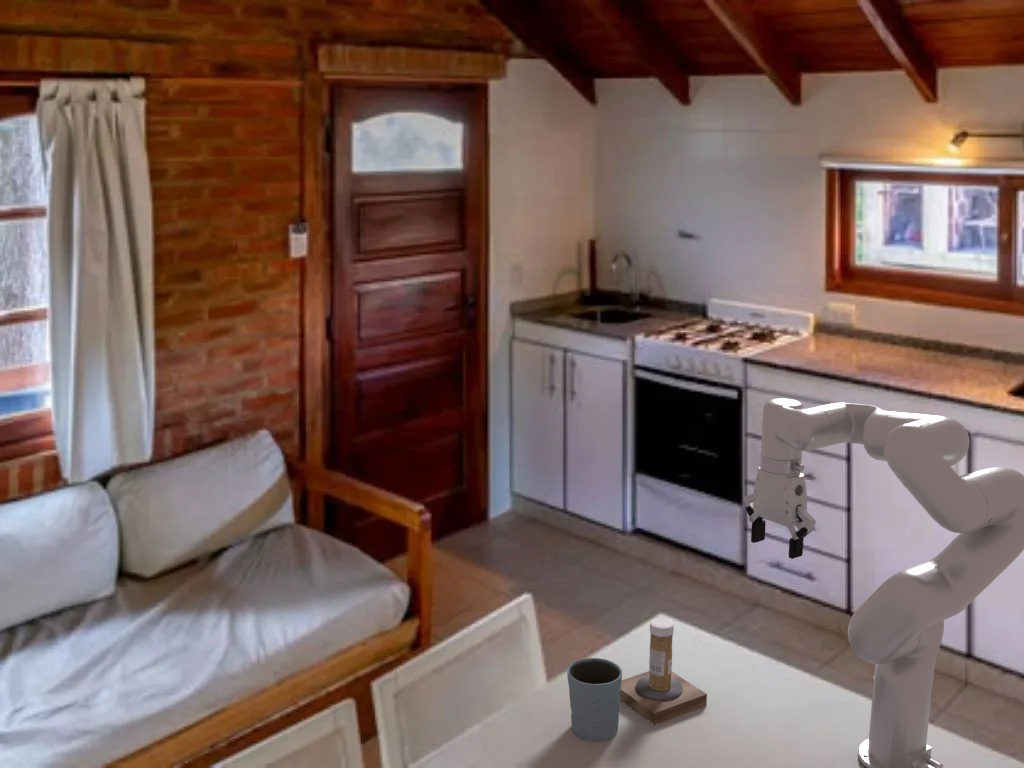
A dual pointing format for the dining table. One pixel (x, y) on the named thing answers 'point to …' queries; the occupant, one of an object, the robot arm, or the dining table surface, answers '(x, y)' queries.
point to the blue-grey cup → (594, 698)
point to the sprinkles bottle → (660, 654)
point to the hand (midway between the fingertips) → (776, 548)
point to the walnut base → (661, 698)
